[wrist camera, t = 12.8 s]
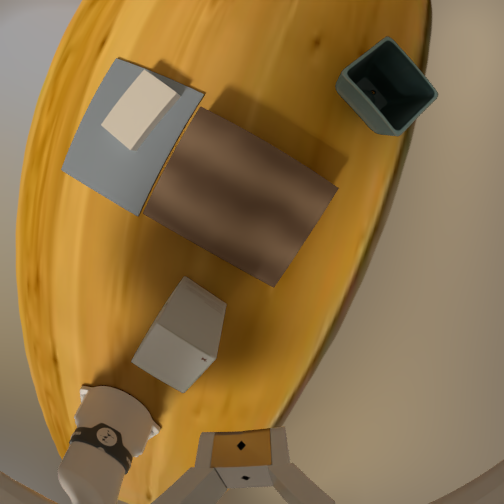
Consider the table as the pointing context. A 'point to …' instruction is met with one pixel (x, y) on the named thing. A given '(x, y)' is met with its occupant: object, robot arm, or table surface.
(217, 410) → the table surface
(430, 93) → the flower pot
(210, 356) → the supplement box
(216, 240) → the board
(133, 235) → the table surface
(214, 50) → the table surface
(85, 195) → the table surface
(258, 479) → the robot arm
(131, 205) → the mat
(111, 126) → the beige rectangular block
